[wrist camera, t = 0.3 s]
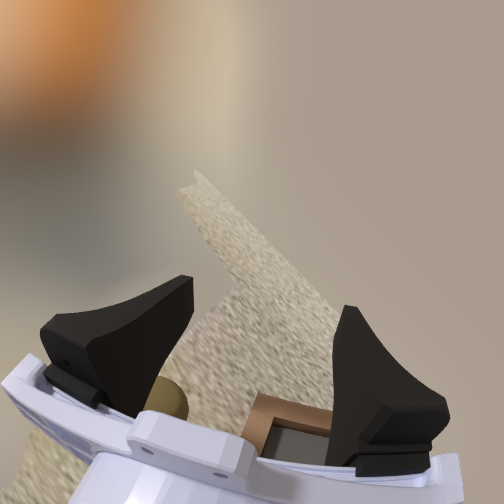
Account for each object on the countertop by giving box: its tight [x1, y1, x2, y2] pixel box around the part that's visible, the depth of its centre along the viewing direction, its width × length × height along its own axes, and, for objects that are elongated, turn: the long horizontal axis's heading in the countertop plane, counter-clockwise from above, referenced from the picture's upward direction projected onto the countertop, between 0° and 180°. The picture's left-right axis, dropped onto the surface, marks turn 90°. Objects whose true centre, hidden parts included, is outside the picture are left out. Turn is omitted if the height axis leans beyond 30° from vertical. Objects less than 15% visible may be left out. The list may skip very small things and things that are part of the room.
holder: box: [241, 392, 333, 466], centre depth 21 cm, size 15×15×2 cm
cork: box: [143, 376, 189, 421], centre depth 20 cm, size 6×6×11 cm
